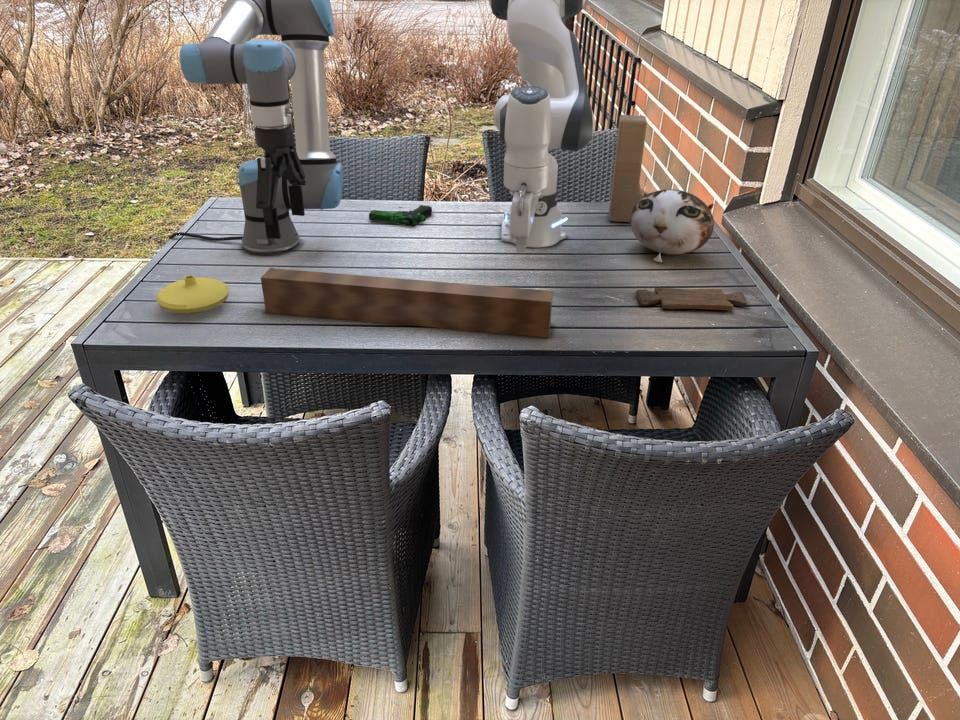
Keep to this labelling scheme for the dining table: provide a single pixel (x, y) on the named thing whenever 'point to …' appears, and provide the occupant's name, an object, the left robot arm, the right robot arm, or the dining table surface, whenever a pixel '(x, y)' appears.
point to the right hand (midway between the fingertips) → (523, 242)
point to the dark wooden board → (691, 298)
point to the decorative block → (627, 167)
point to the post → (408, 302)
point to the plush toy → (672, 222)
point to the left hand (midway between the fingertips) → (286, 226)
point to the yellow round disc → (192, 295)
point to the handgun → (402, 216)
